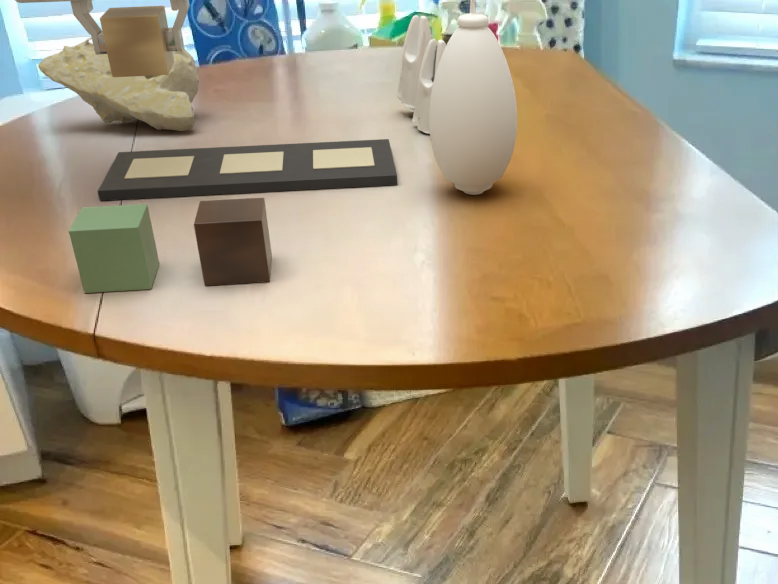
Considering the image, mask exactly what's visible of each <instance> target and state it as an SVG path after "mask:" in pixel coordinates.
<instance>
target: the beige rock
mask: <svg viewBox="0 0 778 584" xmlns="http://www.w3.org/2000/svg"><path fill="white" fill-rule="evenodd" d="M90 40H91V41H92V37H91V36H90V37H88V38H86V39H85V40H84V41H83V42H80V43H78V44H76V45H74V46H68V45H64V46H63V48H62V50H61V51H59V52H58V53H55V54H52V55H48V56H46V57H45V58H43V59H42V60H41V61H40V63H38V69H39V71H40V72H41V73H42V74H43V75H44V76H45V77H47V78H49V80H51V81H52V82H54V83H57V84H60V85H62V86H64V87H65V88H67V89H69V90H70V91H72V92H74V93H75V94H77V95H78V96H79V97H80V98H81V99H82V101H83V102H84V103H87V104H88V105H89V106H91V107H92V109H93V110H94V112H95V113H96V114H97V115H98V116H99V117H100V120H102V122H103V123H105V124H112V123H113V122H120V123H121V124H123V123H125V122H130V121H132V120H138V121H141V122H144V123H146V124H147V125H149V126H150V127H152V128H154V129H156V130H158V131H161V130H170V131H171V130H172V131H178V132H185V131H188V130H189V129H191V128H193V127H194V126H195V115H194V107H193V105H192V103H193V102H194V99H195V97H196V95H197V94H198V91H199V84H200V80H199V76H198V69H197V66H196V61H195V59H194V57H193V56H192V55H191V54H190V53H189V52H188V51H187V49H186V48H184V49H183V51H172V52H173V57H174V64H173V66H172V68H171V70H170V72H169V74H168V75H151V76H130V77H112V73H111V69H110V64H109V59H108V55H107V54H102V55H96V53H95V50H94V46H93V42H90Z"/></svg>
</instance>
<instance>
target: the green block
mask: <svg viewBox="0 0 778 584" xmlns="http://www.w3.org/2000/svg"><path fill="white" fill-rule="evenodd" d="M149 209H150V208H149V205H148V204H147V203H143V204H142V203H140V204H139V203H138V204H120V205H103V206H102V205H101V206H85V207H83V206H82V207H81V208H80V210H79V212H78V213H77V215H76V217H75V219H74V221H73V223H72V224H71V226H70V228H69V229H68V235H69V238H70V242H71V245H72V251H73V253H74V258H75V262H76V265H77V269H78V273H79V278H80V282H81V286H82V288H83V292H84V294H93V293H110V292H111V293H112V292H126V291H143V290H152V287H153V285H154V282H155V279H156V275H157V272H158V269H159V267H160V266H159V265H160V258H159V254H158V249H157V245H156V239H155V234H154V229H153V224H152V220H151V215H150V210H149Z"/></svg>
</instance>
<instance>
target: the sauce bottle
mask: <svg viewBox="0 0 778 584" xmlns="http://www.w3.org/2000/svg"><path fill="white" fill-rule="evenodd" d="M456 24H457V26H458V27H457V28H456V29H455V30H454V32H453V33H452V35H451V36H450V38H449V39H448V41H447V43H446V47H445V49H444V52H443V54H442V57H441V59H440V62H439V65H438V68H437V72H436V75H435V79H434V83H433V88H432V94H431V101H430V114H429V124H430V134H429V136H430V143H431V148H432V152H433V155H434V159H435V162H436V164H437V166H438V168H439V170H440V172H441V174H442V175H443V177H444V178H445V180H446V181H448V182H449V183H453V184H454V188H455V189H456V190H459V191H462V192H463V193H464V194H467V195H471V196H478V195H481V194H483V193H484V192H485V191H488V190H490V189H491V188H492V187H493V185H494V183H496V182H497V181H498V182H499V181H500V180H501V179H502V178H503V177H504V174H505V173H506V171H507V169H508V167H509V165H510V161H511V160H512V156H513V153H514V150H515V146H516V141H517V133H518V106H517V105H518V104H517V98H516V97H517V96H516V90H515V86H514V81H513V77H512V74H511V70H510V67H509V64H508V60H507V58H506V56H505V52H504V51H503V49H502V46H501V44H500V42H499V41H498V38H497V36H496V35H495V33H494V32H493V31H492V30H491V29H490V28H489V26H488V25H489V18H488V16H487V15H485V14H483V13H477V5H476V0H469V13H464V14H462V15H459V17H458V18H457V21H456Z"/></svg>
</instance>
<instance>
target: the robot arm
mask: <svg viewBox="0 0 778 584" xmlns="http://www.w3.org/2000/svg"><path fill="white" fill-rule="evenodd" d="M14 2H16V3H19V4H33V3H58V2H62V3H63V2H70V5H71V10H72V15H73V16H74V17H75V19H76V20H77V22H79V23H80V25H81V26H82V27H83V28H84V30H85V31H86V32H87V33H88V35H90V37H92V39H91V41H92V44H93V46H94V50H95V53H96V55H102V54H107V50H106V45H105V41H104V36H103V31H102V28H101V27H100V26H99V24H98V23H97V22H96V20H95V19H94V18H93V16H92V15H91V14H90V13H91V12H92V11H93V10H94V5H93V0H14ZM169 3H170V8H171V10H172V11H173V12H175V11H177V14H176V17H175V20H174V22H173V25H172V27H168V28H165V30H164V31H163V33H164V38H165V41H166V49H167V51H183V49H185V44H184V37H183V32H182V28H183V26H184V23H185V20H186V17H187V16H188V12H189V9H190V6H191V5H190V0H169Z"/></svg>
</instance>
